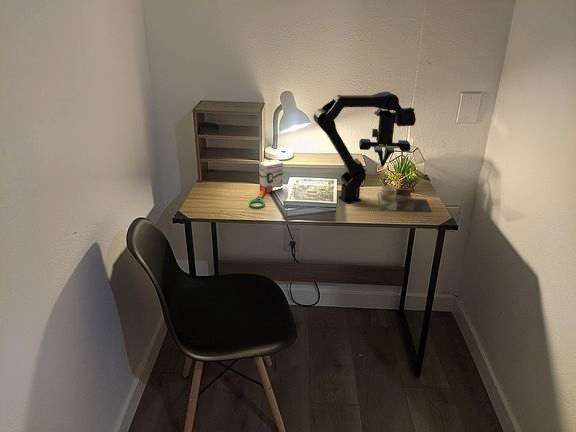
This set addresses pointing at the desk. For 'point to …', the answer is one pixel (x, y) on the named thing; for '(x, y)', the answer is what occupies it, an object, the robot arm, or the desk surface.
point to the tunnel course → (403, 202)
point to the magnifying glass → (258, 201)
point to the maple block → (388, 193)
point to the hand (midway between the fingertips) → (382, 166)
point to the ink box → (270, 175)
